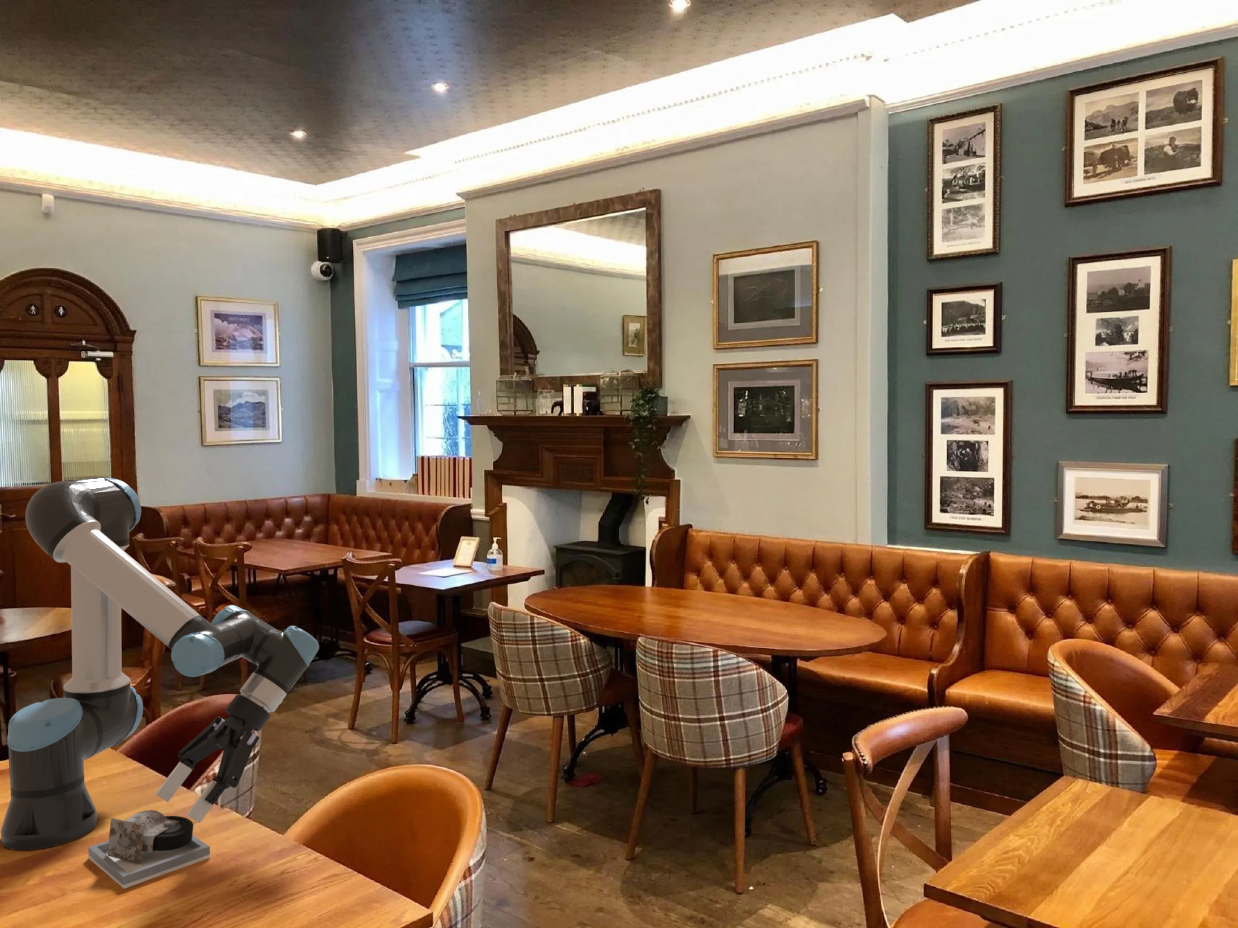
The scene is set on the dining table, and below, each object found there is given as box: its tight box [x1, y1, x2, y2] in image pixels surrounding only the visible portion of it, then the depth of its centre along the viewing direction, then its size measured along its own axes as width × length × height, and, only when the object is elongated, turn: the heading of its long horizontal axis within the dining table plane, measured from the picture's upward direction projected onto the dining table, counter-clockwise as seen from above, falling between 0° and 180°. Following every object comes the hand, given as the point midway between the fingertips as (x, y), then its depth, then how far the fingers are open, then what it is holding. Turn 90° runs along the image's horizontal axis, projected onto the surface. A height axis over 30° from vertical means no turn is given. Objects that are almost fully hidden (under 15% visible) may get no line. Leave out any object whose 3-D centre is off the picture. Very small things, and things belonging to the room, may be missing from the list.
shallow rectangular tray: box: [87, 834, 211, 889], centre depth 160 cm, size 16×14×2 cm
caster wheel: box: [107, 809, 194, 864], centre depth 161 cm, size 7×11×10 cm
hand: (176, 808), depth 163 cm, fingers open, 13 cm apart
